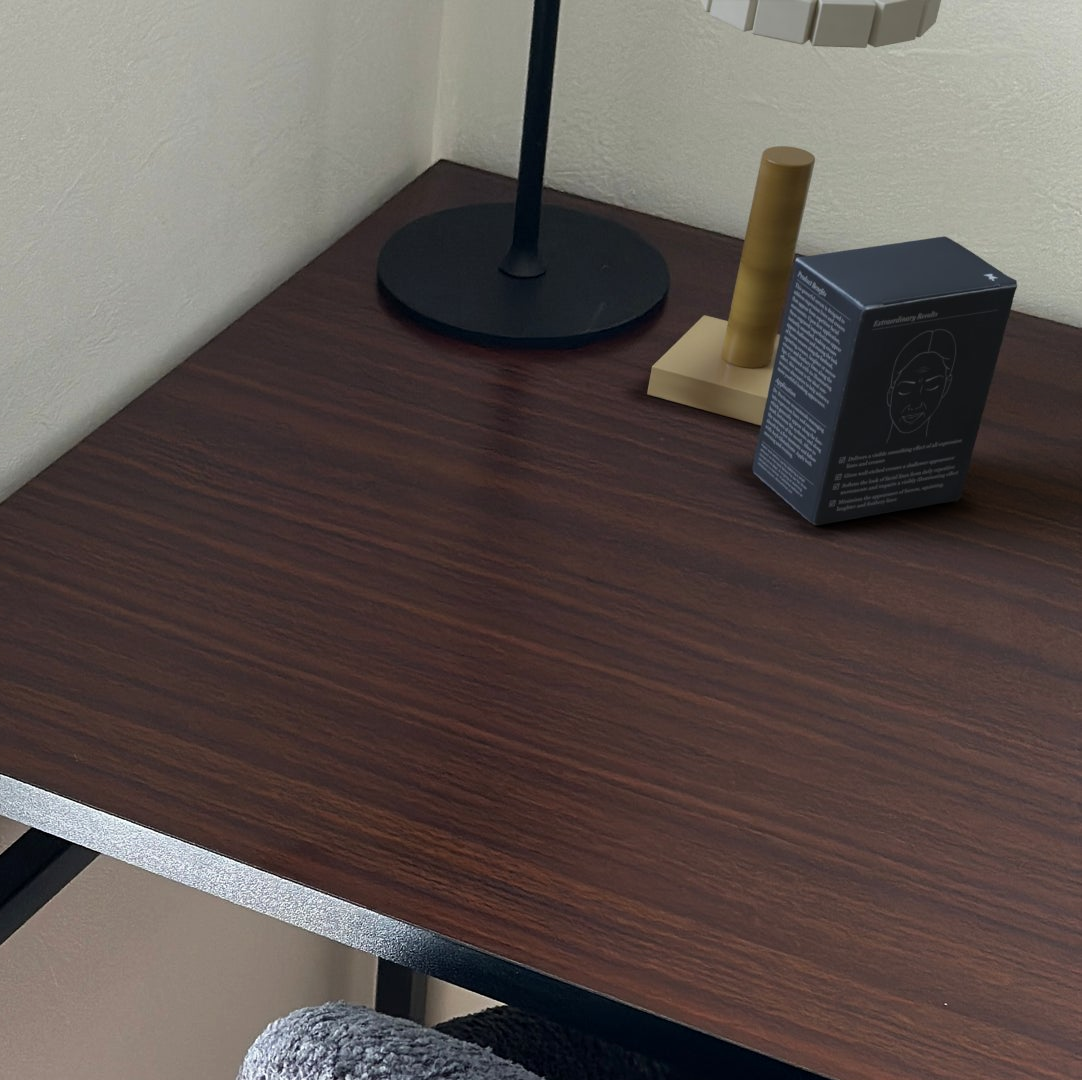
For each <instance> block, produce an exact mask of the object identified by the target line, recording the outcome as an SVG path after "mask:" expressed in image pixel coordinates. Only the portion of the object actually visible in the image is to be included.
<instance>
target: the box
mask: <svg viewBox="0 0 1082 1080" xmlns="http://www.w3.org/2000/svg"><path fill="white" fill-rule="evenodd" d="M1017 288H1018V281H1017V279H1015V278H1013V277H1011V276H1009V275H1007V274H1005V273H1004V272H1002V271H1001V270H999V268H996V267H995V266H993V265H992V264H990V263H989V262H987V261H986V260H985V259H983V258H982V257H981V256H979V255H977V254H975V253H974V252H973V251H971V250H970V249H968V248H966V247H964V246H963V245H962V244H960V243H958V242H956V241H954V240H953V239H952V238H949V237H947V236H944V235H943V236H937V237H930V238H924V239H917V240H909V241H903V242H897V243H896V242H895V243H889V244H882V245H881V244H880V245H876V246H869V247H861V248H853V249H847V250H840V251H834V252H827V253H826V252H825V253H820V254H813V255H805V256H799V257H796V258H795V261H794V266H793V273H792V278H791V283H790V287H789V291H788V296H787V301H786V305H785V311H784V315H783V322H782V325H781V329H780V334H779V335H780V338H779V344H778V348H777V353H776V357H775V362H774V367H773V372H772V377H771V381H770V386H769V391H768V396H767V401H766V404H765V410H764V414H763V419H762V424H761V426H760V429H759V433H758V438H757V443H756V448H755V453H754V458H753V462H752V467H751V470H752V472H753V474H754V475H755V476H756V477H758V478H759V479H760V481H761V482H762V483H764V484H766V486H767V487H769V488H770V489H771V490H772V491H773V492H774V493H776V495H778V496H779V497H780V498H781V499H783V500H784V501H785V502H786V503H787V504H788V505H789V506H791V507H792V509H793V510H795V511H796V512H797V513H798V514H800V515H801V517H802V518H803V519H805V520H807V522H809V523H811V524H812V525H813V526H823V525H827V524H832V523H838V522H843V521H850V520H854V519H860V518H861V519H862V518H864V517H865V518H866V517H872V516H877V515H880V514H881V515H883V514H888V513H894V512H898V511H904V510H910V509H916V508H921V507H927V506H933V505H939V504H946V503H950V502H957V501H959V500H960V499H961V497H962V495H963V489H964V485H965V483H966V482H965V481H966V478H967V474H968V471H969V468H970V464H971V461H972V460H971V459H972V456H973V452H974V448H975V445H976V441H977V438H978V434H979V430H980V426H981V423H982V418H983V415H984V412H985V408H986V404H987V400H988V395H989V392H990V388H991V385H992V381H993V378H994V374H995V370H996V367H997V362H998V359H999V356H1000V351H1001V347H1002V345H1003V341H1004V336H1005V332H1006V328H1007V324H1008V321H1009V317H1010V315H1011V309H1012V306H1013V302H1014V297H1015V294H1016V292H1017Z"/></svg>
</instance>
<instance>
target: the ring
mask: <svg viewBox="0 0 1082 1080" xmlns="http://www.w3.org/2000/svg"><path fill="white" fill-rule="evenodd" d="M699 1H700V3H701V5H702V7H703V9H704V11H705V12H706V13H709V16H710V17H713V18H715V19H716V20H719V21H721V22H723V23H725V24H726V25H729V26H731V27H734V28H735V29H737V30H740V31H742V32H750V31H752V32H751V34H752V35H754V36H759V37H765V38H769V39H773V40H779V41H784V42H788V43H793V44H797V45H805V44H806V43H807V42H808V41H809V43H810V44H811V46H813V47H824V48H825V47H827V48H856V49H858V48H859V49H866V48H867V47H868V45H869V46H871V47H873V48H880V47H884V46H890V45H895V44H900V43H901V44H902V43H906V42H910V41H911V42H912V41H915V40H916V39H917V38H921V37H922V36H923V35H924V34H925V33H927V31H928V30H930V29H931V28H932V26H934V25H935V24H936V22H937V19H938V15H939V11H940V8H941V7H940V6H941V4H942V3H941V2H942V0H699Z"/></svg>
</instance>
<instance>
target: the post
mask: <svg viewBox="0 0 1082 1080" xmlns="http://www.w3.org/2000/svg"><path fill="white" fill-rule="evenodd" d="M815 163H816V157H815V155H814V154H813V153H811V152H810V151H808V150H805V149H803V148H800V147H795V146H787V145H786V146H785V145H779V146H770V147H767V148H765V149H764V150H763V151H762V153H761V158H760V162H759V168H758V173H757V177H756V182H755V185H754V186H755V187H754V192H753V197H752V202H751V207H750V212H749V216H748V221H747V226H746V231H745V236H744V241H743V247H742V250H741V257H740V259H739V260H740V261H739V266H738V270H737V274H736V275H737V276H736V280H735V286H734V290H733V295H732V299H731V305H730V310H729V314H728V320H726V319H725V320H724V319H721V318H716V317H714V316H710V315H705V314H704V315H702V316H701V317H700V319H698V320H697V321H696V322H695V323H694V325H692V326H691V327H690V328H689V330H688V331H686V332H685V333H684V334H683V335H682V336H681V337H680V338H679V339H678V340H677V341H676V343H674V344H673V345H672V346H671V347H670V348H669V349H668V350H667V351H666V352H665V353H664V354H663V355H662V356H661V357H660V358H659V359H658V360H657V361H656V362H655V363H654V364H653V365H652V366H651V370H650V376H649V382H648V387H647V393H646V394H647V395H648V396H651V397H654V398H658V399H662V400H665V401H670V402H674V403H677V404H680V405H685V406H688V407H692V408H696V409H699V410H703V411H706V412H710V413H713V414H716V415H721V416H723V417H724V416H725V417H728V418H731V419H735V420H739V421H742V422H745V423H750V424H753V425H757V426H760V427H761V424H762V419H763V414H764V410H765V404H766V401H767V396H768V391H769V386H770V381H771V377H772V372H773V367H774V362H775V357H776V353H777V348H778V344H779V338H780V334H778V332H779V327H780V323H781V318H782V314H783V309H784V306H785V305H784V304H785V301H786V296H787V292H788V286H789V283H790V282H789V281H790V277H791V273H792V269H793V265H794V259H795V254H796V250H797V245H798V241H799V240H798V239H799V236H800V231H801V227H802V222H803V217H804V213H805V208H806V204H807V201H808V195H809V191H810V186H811V182H812V176H813V172H814V168H815Z"/></svg>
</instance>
